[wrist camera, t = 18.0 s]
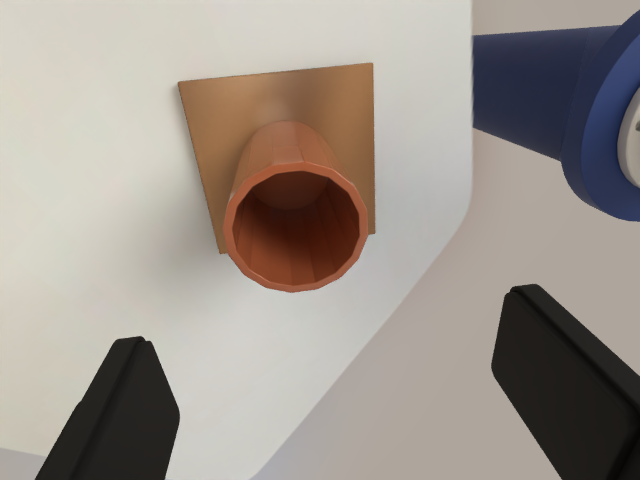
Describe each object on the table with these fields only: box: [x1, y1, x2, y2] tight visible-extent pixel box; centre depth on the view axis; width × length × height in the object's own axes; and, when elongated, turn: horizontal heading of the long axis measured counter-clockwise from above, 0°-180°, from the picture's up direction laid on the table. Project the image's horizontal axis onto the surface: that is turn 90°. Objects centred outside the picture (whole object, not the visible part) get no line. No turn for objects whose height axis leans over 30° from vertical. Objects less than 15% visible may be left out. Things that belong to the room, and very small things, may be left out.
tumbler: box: [223, 120, 368, 293], centre depth 21 cm, size 6×6×10 cm
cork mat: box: [178, 63, 375, 254], centre depth 25 cm, size 12×12×1 cm
